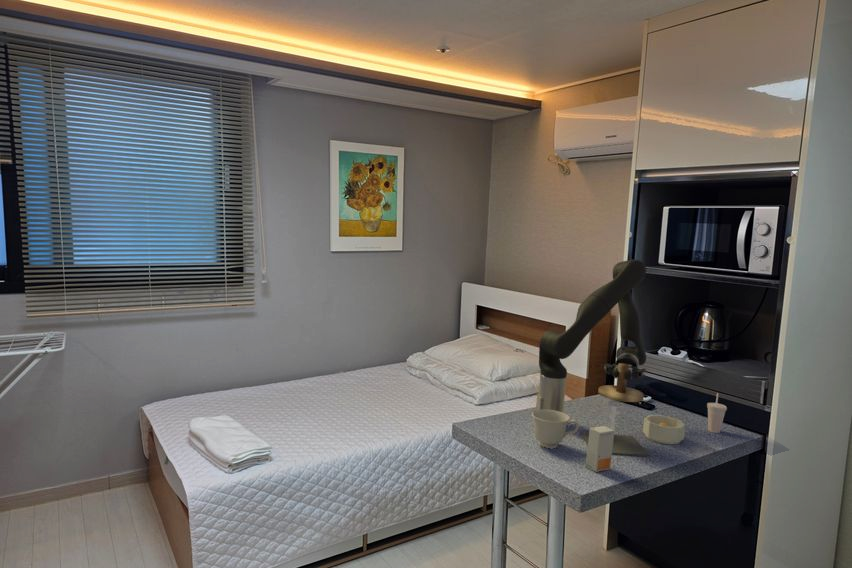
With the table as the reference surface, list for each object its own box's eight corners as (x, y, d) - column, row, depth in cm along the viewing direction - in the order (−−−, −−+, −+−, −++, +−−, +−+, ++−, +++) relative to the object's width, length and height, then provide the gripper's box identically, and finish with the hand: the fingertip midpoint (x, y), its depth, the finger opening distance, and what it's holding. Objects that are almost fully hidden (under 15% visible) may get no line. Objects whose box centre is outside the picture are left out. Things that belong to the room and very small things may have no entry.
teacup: (574, 457, 170) (577, 426, 169) (526, 448, 175) (528, 417, 174) (578, 444, 182) (581, 414, 180) (532, 435, 187) (535, 406, 186)
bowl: (652, 444, 186) (654, 426, 185) (638, 430, 198) (640, 414, 197) (688, 446, 186) (690, 428, 185) (672, 432, 198) (674, 416, 197)
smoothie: (719, 428, 205) (723, 391, 203) (727, 435, 198) (731, 397, 197) (701, 427, 205) (705, 390, 204) (708, 433, 199) (712, 395, 197)
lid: (606, 400, 174) (609, 368, 173) (592, 387, 188) (595, 358, 187) (650, 403, 174) (653, 371, 173) (633, 389, 188) (636, 360, 187)
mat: (593, 453, 175) (593, 451, 174) (579, 434, 190) (579, 432, 190) (650, 456, 175) (650, 454, 175) (631, 437, 191) (632, 435, 190)
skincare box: (595, 473, 160) (599, 432, 159) (585, 466, 164) (588, 427, 163) (611, 469, 163) (615, 430, 162) (600, 463, 167) (604, 425, 166)
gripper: (606, 351, 196) (600, 361, 180) (649, 357, 190) (646, 368, 174) (604, 372, 197) (597, 383, 181) (647, 378, 191) (643, 391, 175)
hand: (621, 376), depth 178 cm, fingers closed on lid, 3 cm apart
